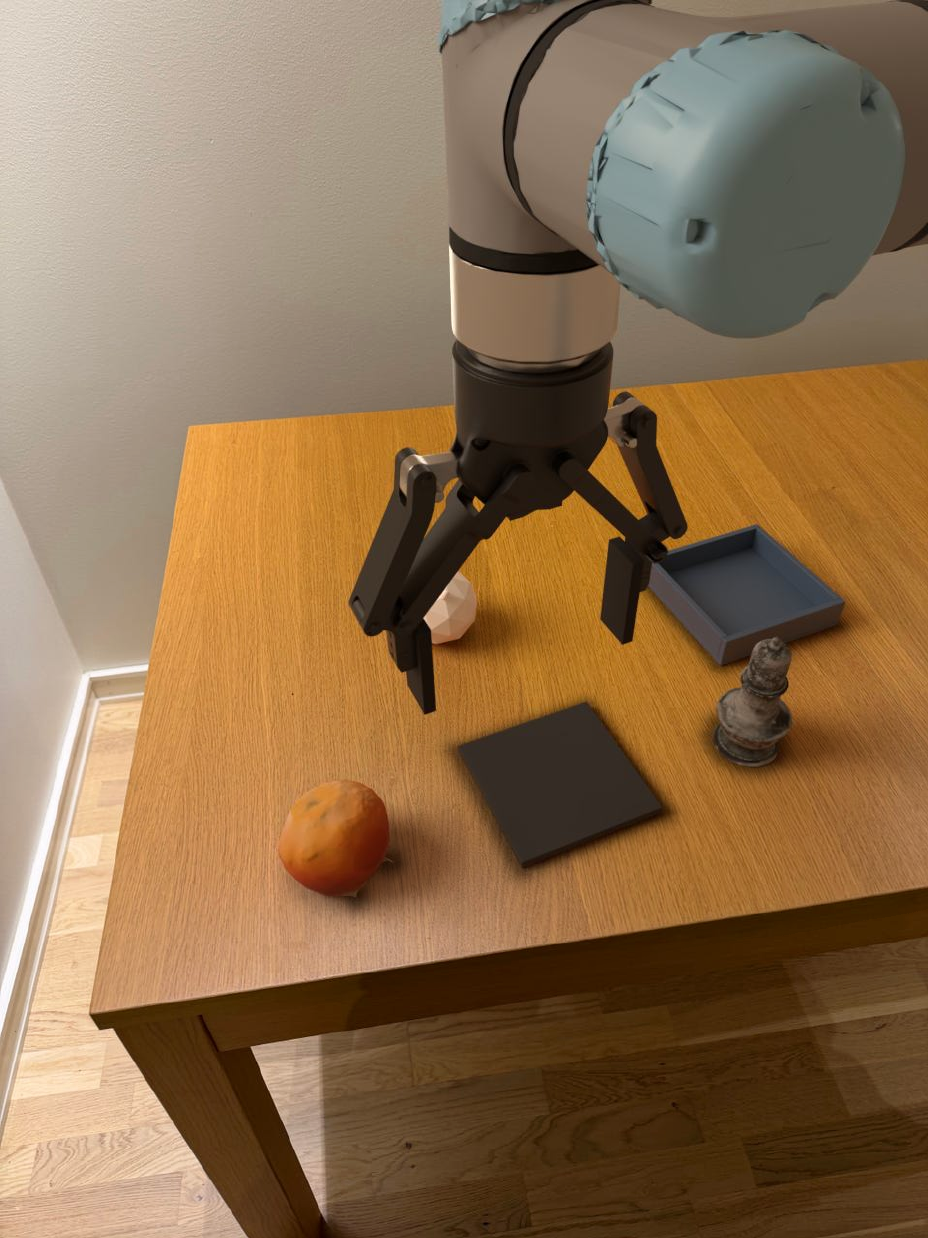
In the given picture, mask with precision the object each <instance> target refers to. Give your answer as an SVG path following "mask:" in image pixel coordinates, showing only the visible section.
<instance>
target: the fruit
mask: <svg viewBox="0 0 928 1238" xmlns="http://www.w3.org/2000/svg"><path fill="white" fill-rule="evenodd" d="M389 844H390V822H389V818H388V812H387V808H386V804H385V802H384V801H383V799H382V798H381V797H380V796H379V795H378V794H377V793H376V791H374V789H373V788H371V787H369V786H367V785H365V784H363V783H361V782H359V781H355V780H349V779H346V778H345V779H344V778H343V779H331V780H329V781H327V782H325V783H323V784H320V785H317V786H315V787H312V788H311V789H310V790H308V791H307V792H306V793H303V795H301V796H300V797H299V798H298V800H297V801H296V803H294V805H293V806H292V808H290V810H289V812H288V815H287V817H286V819H285V823H284V826H283V828H282V832H281V834H280V837H279V841H278V849H277V854H278V857H279V859H280V860H281V863H282V865H283V868H284V869H285V870H286V872H287V873H288V874H289V875H290V876H291V877H292V878H293V879H294V880H295V881H296V882H297V883H299V884H300V885H301V886H303V887H304V888H306V889H307V890H310V891H313V892H316V893H318V894H320V895H323V896H324V897H334V898H335V897H336V898H337V897H345V896H346V897H347V896H348V897H354V898H355V899H357V896H358V893H359V891H360V890H361V889H363V887H364V886H365V884H367V883H368V882H369V880H370V879H372V877H373V876H374V875H375V874H376V872H377V871H378V869H379V867H380V866H381V864H383V863H385V862H388V863H392V864H393V863H394V861H393V860H391V859H389V858H388V857H386V856H387V850H388V846H389Z"/></svg>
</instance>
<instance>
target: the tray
mask: <svg viewBox="0 0 928 1238" xmlns="http://www.w3.org/2000/svg"><path fill="white" fill-rule="evenodd" d="M647 588H648V589H650V590H651V592H653V593H654V595H655V596H656V597H657V598H658V599H659V600H660V601H661V602H662V604H663V605H664V606H665V607H666V608H667V610H668V611H670V613H672V615H673V616H674V617H675V618H676V619H677V620H678V621H679V622H680V623H681V625H682V626H683V627H684V628H685V629H686V630H687V631H688V632H689V633H690V634H691V635H692V636H693V638H694V639H695V640H696V641H697V642H698V644H700V646H701V647H703V649H704V650H705V651H706V652H707V654H709V655H710V656H711V657H712V658H713V660H714V661H715V662H716V663H717V664H718V666H720V667H721V666H724V665H727V664H730V663H733V662H736V661H738V660H742V659H745V658H748V657H751V655H752V651H753V649H754V647H755V645H756V644H757V643H758V642H761V641H763V640H766V639H772V638H775V637H779V638H780V640H781V642H783V643H785V644H787V643H790V642H794V641H796V640H799V639H801V638H805V637H807V636H810V635H813V634H816V633H819V632H821V631H824V630H828V629H830V628H833V627H836V626H838V624H839V622H840V619H841V617H842V613H843V610H844V608H845V606H846V602H847V600H845V599H844V598H843V597H841V596H840V595H839V594H838V593H837V592H836V591H835V590H834V589H832V588H831V587H830V585H828V584H827V583H825V581H824V580H822V579H821V578H820V577H818V576H817V575H816V573H814V572H813V571H812V570H810V568H808V567H807V566H806V565H805V564H804V563H803V562H802V561H801V560H799V559H798V558H797V557H796V556H795V555H793V554H792V553H791V552H790V551H789V550H787V548H786V547H784V546H783V545H782V543H780V542H779V541H778V540H777V539H776V538H774V537H773V536H772V535H770V533H768V532H767V531H766V530H765V529H764V528H763V527H762V526H760V524H758V523H755V524H753V525H749V526H746V527H742V528H739V529H736V530H733V531H729V532H725V533H722V534H719V535H716V536H713V537H709V538H706V539H702V540H698V541H696V542H693V543H689V544H686V545H682V546H679V547H676V548H673V549H668V554H667V556H666V558H665V559H664V560H663V561H661V562H659V563H655V564H654V563H652V568H651V575H650V581H649V585H648V587H647Z"/></svg>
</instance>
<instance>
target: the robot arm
mask: <svg viewBox="0 0 928 1238" xmlns="http://www.w3.org/2000/svg"><path fill="white" fill-rule="evenodd" d="M440 17H441V18H440V20H441V21H440V22H441V23H440V30H439V32H438V35H437V46H438V47H437V48H438V52H439V53H440V55H441V65H442V69H441V71H442V93H443V95H442V96H443V117H444V141H445V143H444V144H445V163H446V165H445V167H446V189H447V214H448V215H447V216H448V242H449V243H448V250H449V252H448V253H449V279H450V280H449V282H450V314H451V315H450V316H451V330H452V333H453V335H454V337H455V338H456V340H455V341H454V343H453V345H452V349H451V355H452V356H451V358H452V386H453V387H452V388H453V389H452V390H453V392H452V393H453V411H454V412H453V413H454V420H455V421H454V422H455V429H456V431H455V436H454V440H453V442H452V444H451V445H450V448H449V450H448V451H446V452H440V453H439V452H438V453H432V454H426V455H420V454H419V453H418V451H417V450H416V449H415V448H413V447H411V446H410V447H409V446H408V447H404V448H401V449H400V450H399V451H398V452H396V454H395V457H394V470H393V471H394V472H393V490H392V492H391V495H390V497H389V500H388V503H387V505H386V508H385V509H384V512H383V515H382V517H381V520H380V522H379V525H378V527H377V530H376V532H375V533H374V537H373V539H372V542H371V544H370V547H369V549H368V552H367V554H366V557H365V559H364V562H363V564H362V566H361V569H360V571H359V574H358V577H357V579H356V582H355V584H354V586H353V589H352V591H351V594H350V596H349V599H348V606H349V608H350V610H351V612H352V614H353V615H354V617H355V619H356V621H357V623H358V624H359V626H360V628H361V630H362V632H363V633H364V635H365V636H367V637H376V636H379V635H380V634H381V633H383V632H384V631H386V632H385V633H386V640H387V651H388V655H390V658H391V659H392V661H393V662H394V664H395V666H396V668H397V669H398V671H399V672H400V673H401V674H403V673H405V676H406V685H407V687H408V689H409V691H410V692H411V694H412V696H413V698H414V699H415V701H416V703H417V705H418V706H419V708H420V710H421V712H422V714H423V716H426V715H428V714H431V713H434V712H437V701H436V687H435V685H436V684H435V670H434V669H435V668H434V653H433V652H434V651H433V643H432V635H431V629H430V628H429V626H428V624H427V623H426V621H425V620H424V617H425V615H426V614H427V613H428V611H429V610H430V609H431V607H432V606H433V605H434V603H435V602H436V600H437V599H438V598H439V596H440V595H441V594H442V592H443V591H444V590H445V588H446V587H447V585H448V584H449V583H450V581H451V580H452V579H453V577H454V576H455V575H456V573H457V572H459V571H460V569H461V568H462V567H463V565H464V564H465V563H466V561H467V560H468V558H469V557H470V556H471V554H472V553H473V552H474V550H475V549H476V548H477V546H478V545H479V543H480V542H481V541H482V540H483V541H484V540H485V541H487V540H489V539H491V538H492V536H493V535H494V534H495V533H496V532H497V530H498V529H499V527H501V525H502V523H503V522H504V521H505V520H506V518H507V520H509V522H512V521H515V520H519V519H522V518H524V517H526V516H528V515H531V514H532V513H534V512H536V511H547V510H553V509H556V508H560V507H562V506H563V502H564V501H565V500H567V498H569V497H570V496H571V495H572V494H573V493H574V492H575V493H576V494H577V495H579V496H580V498H582V499H583V500H584V501H585V502H586V503H587V504H588V505H589V506H590V507H592V508H593V509H594V510H595V511H596V512H597V513H598V514H599V515H601V516H602V517H603V518H604V520H606V521H607V522H608V523H609V524H610V525H611V526H612V527H613V528H615V530H617V531H618V532H619V533H620V534H621V535H622V536H623V537H624V539H623V537H621V536H616V537H613V538H610V539H608V543H607V545H608V546H607V553H606V562H605V572H604V573H605V574H604V579H603V582H604V583H603V589H602V598H601V607H600V618H599V620H600V621H601V622H602V624H604V626H605V627H606V628H607V629H608V630H609V631H610V632H611V634H612V635H613V636H614V637H615V638H616V640H617V641H618V642H619V643H620V644H621V646H623V645H627V644H629V643H632V642H633V640H634V634H635V628H636V621H637V613H638V606H639V599H640V593H642V592H645V591H646V590H647V588H649V587H648V585H649V581H650V575H651V568H652V563H654V564H655V563H659V562H661V561H663V560H664V559H665V558H666V556H667V554H668V551H669V549H668V547H667V546H666V545H665V544H664V543H663V542H664V541H665V540H667V539H669V538H671V540H678V539H681V538H682V537H683V536H685V534H686V533H687V531H688V522H687V520H686V517H685V515H684V512H683V510H682V507H681V505H680V502H679V500H678V497H677V495H676V492H675V489H674V486H673V484H672V482H671V479H670V477H669V474H668V472H667V469H666V466H665V464H664V461H663V459H662V455H661V454H660V452H659V449H658V446H657V438H658V437H657V435H658V434H657V433H658V416H657V413H656V412H655V411H654V410H652V409H651V408H650V407H648V406H647V405H646V404H644V402H642V401H641V400H639V399H638V397H636V396H634V395H633V394H632V393H631V392H630V391H621V392H619V393H618V394H617V395H616V396H615V397H614V399H613V401H612V404H611V405H612V406H611V407H609V404H610V395H611V385H612V384H611V382H612V373H613V364H614V363H613V362H614V347H613V344H612V343H611V341H612V339H613V338H614V336H615V334H616V331H617V330H618V322H619V321H618V319H619V308H620V295H621V286H622V287H623V288H625V289H626V291H628V292H630V293H631V294H632V295H633V296H634V297H635V298H637V299H638V300H644V301H645V302H646V303H647V304H649V305H650V306H652V307H653V308H655V309H656V310H661V309H662V310H663V309H666V310H667V311H669V312H671V313H672V314H673V315H675V316H676V317H680V318H681V319H684V320H686V321H687V322H689V323H691V324H692V325H694V326H697V327H698V328H700V329H702V330H704V331H706V332H708V333H711V334H713V335H717V336H720V337H724V338H730V339H758V338H764V337H765V338H766V337H769V336H773V335H776V334H779V333H783V332H785V331H787V330H790V329H792V328H794V327H796V326H798V325H800V324H801V323H804V321H805V319H806V318H807V315H808V314H809V313H810V312H811V311H812V310H814V309H815V308H816V307H818V306H819V305H821V304H822V303H824V302H826V301H831V300H834V299H836V298H837V297H838V296H840V295H841V294H842V293H843V292H845V290H846V289H847V288H848V287H849V286H850V285H851V283H853V282H854V280H855V279H856V278H857V277H858V275H859V274H860V273H861V272H862V270H863V269H864V268H865V266H866V265H867V263H868V262H869V261H870V259H871V258H872V257H873V256H877V255H882V254H886V253H887V254H888V253H894V252H898V251H901V250H904V249H908V248H914V247H918V246H923V245H924V246H925V245H928V0H889V1H882V2H872V3H860V4H851V5H840V6H830V7H829V6H828V7H817V8H807V9H806V8H805V9H798V10H789V11H779V12H770V13H759V14H749V15H740V16H705V15H704V16H703V15H695V14H691V13H690V14H689V13H685V12H680V11H676V10H670V9H667V8H666V9H665V8H662V7H661V8H660V7H655V6H654V5H653V0H441V16H440ZM608 438H609V439H610V440H611V441H612V442H613V443H614V444H615V445H616V446H617V448H618V450H619V451H618V452H619V454H620V456H621V459H622V460H623V462H624V465H625V466H626V469H627V472H628V474H629V476H630V478H631V481H632V482H633V485H634V488H635V490H636V492H637V494H638V497H639V498H640V501H641V503H642V506H643V507H644V510H645V512H646V514H645V515H643V517H640V518H639V519H638V518H637V516H635V515H634V514H633V513H632V512H631V511H630V510H629V509H628V508H627V507H626V506H625V505H624V504H623V503H622V502H621V501H620V500H619V499H618V498H617V497H616V496H614V494H613V493H612V492H611V491H610V490H609V489H607V488H606V486H605V485H603V483H602V482H600V480H598V478H596V476H594V475H593V474H592V473H591V472H590V471H589V470H590V468H591V467H592V465H593V464H594V462H595V461H596V460H597V458H598V456H599V455H600V453H601V452H602V450H603V449H604V447H605V446H606V444H607V441H608ZM454 479H457V481H456V482H455V483H454V484H453V486H452V488H451V489H450V490H449V492H448V493H447V494H446V497H445V493H444V492H445V488H446V486H447V484H449V483H450V482H451V481H452V480H454ZM475 498H477V500H479V502H481V503H482V504H483V506H482V508H481V509H480V511H479V510H478V508H477V507H475V505H474V499H475ZM444 499H445V506H444V509H443V510H442V512H441V514H440V515H439V516H438V518H437V519H436V520H435V522H434V523H433V525H432V526H431V528H430V529H429V527H430V525H431V523H432V520H433V517H434V512H435V507H436V504H439V503H442V502H443V501H444Z"/></svg>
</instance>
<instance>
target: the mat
mask: <svg viewBox="0 0 928 1238" xmlns="http://www.w3.org/2000/svg"><path fill="white" fill-rule="evenodd" d="M615 740H616V739H615V738H614V737H613V735H611V733H610V732H609V730H608V729H607V727H606V726H605V725H604V723H603V722H602V721H601V719H600V718H599V717H598V715H597V713H596V712H595V711H594V710H593V708H592V707H591V706H590V704H589V703H588V701H583V702H580V703H577V704H575V705H572V706H570V707H565V708H564V709H561V710H558V711H555V712H552V713H549V714H547V715H543V716H541V717H537V718H535V719H532V720H529V721H526V722H523V723H520V724H517V725H514V726H511V727H508V728H506V729H503V730H500V731H496V732H494V733H491V734H489V735H485V736H483V737H480V738H477V739H473V740H471V741H468V742H465V743H462V744H459V745H458V748H457V749H458V751H457V752H458V754H459V755H460V757H461V759H462V761H463V763H464V764H465V766H466V768H467V770H468V772H469V774H470V775H471V777H472V779H473V782H474V783H475V785H476V786H477V789H478V791H479V792H480V795H481V796H482V798H483V800H484V801H485V803H486V805H487V808H488V809H489V811H490V812H491V814H492V816H493V818H494V820H495V821H496V824H497V825H498V827H499V829H500V831H501V833H502V834H503V836H504V838H505V840H506V842H507V843H508V846H509V847H510V849H511V851H512V853H513V855H514V857H515V858H516V860H517V862H518V864H519V866H520V868H521V869H523V868H526V867H529V866H532V865H534V864H537V863H539V862H542V861H543V860H546V859H549V858H551V857H554V856H556V855H559V854H561V853H564V852H566V851H569V850H572V849H574V848H576V847H580V846H581V845H584V844H586V843H590V842H592V841H594V840H597V839H599V838H602V837H605V836H607V835H610V834H613V833H615V832H618V831H619V830H623V829H625V828H627V827H631V826H632V825H635V824H637V823H640V822H643V821H645V820H648V819H650V818H653V817H656V816H658V815H661V814H662V813H663V805H662V804H661V803H660V801H659V800H658V799H657V797H656V796H655V794H654V792H652V790H651V789H650V788H649V786H648V784H647V783H646V782H645V780H644V779H643V778H642V777H641V775H640V774H639V772H638V771H637V769H636V768H635V766H634V765H633V764H632V762H631V761H630V760H629V758H628V756H627V755H626V754H625V752H623V749H622V748H621V747H620V746H619V744H618V743H617V742H616V741H615Z"/></svg>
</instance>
